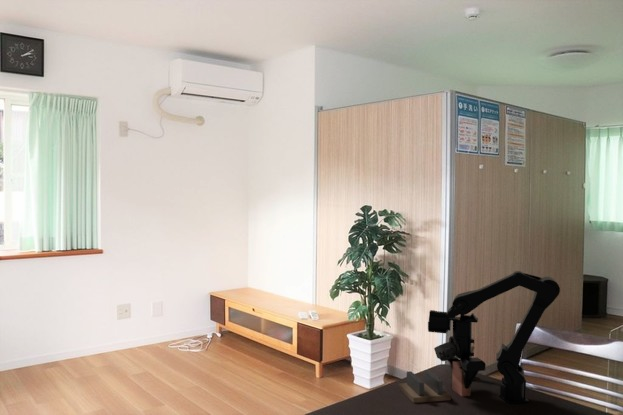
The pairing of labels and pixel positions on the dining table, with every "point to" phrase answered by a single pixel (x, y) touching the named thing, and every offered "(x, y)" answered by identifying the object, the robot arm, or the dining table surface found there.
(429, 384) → the bookend shelf
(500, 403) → the dining table surface
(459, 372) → the reddish brown block
